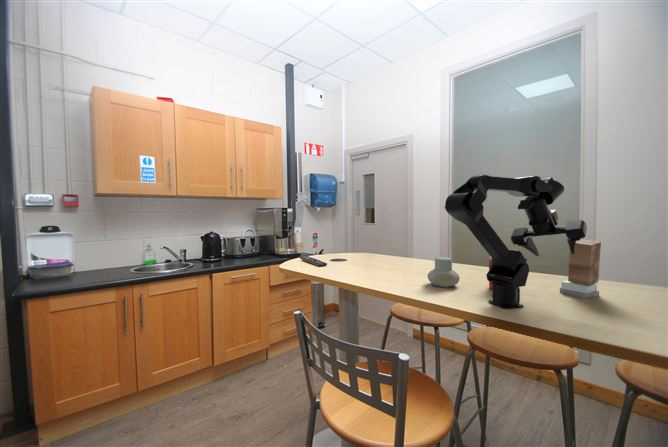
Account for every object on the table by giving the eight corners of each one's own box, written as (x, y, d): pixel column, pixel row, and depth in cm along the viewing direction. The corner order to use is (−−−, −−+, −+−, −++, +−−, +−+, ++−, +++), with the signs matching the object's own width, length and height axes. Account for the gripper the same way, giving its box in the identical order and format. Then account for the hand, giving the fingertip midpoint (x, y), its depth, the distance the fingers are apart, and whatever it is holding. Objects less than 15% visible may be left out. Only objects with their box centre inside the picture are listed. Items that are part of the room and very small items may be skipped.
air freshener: (457, 283, 109) (457, 256, 109) (461, 289, 101) (461, 260, 101) (426, 281, 112) (426, 256, 111) (428, 287, 103) (428, 259, 103)
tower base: (583, 300, 89) (583, 293, 89) (559, 294, 96) (559, 287, 96) (599, 298, 91) (599, 291, 91) (574, 292, 98) (574, 285, 98)
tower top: (585, 293, 89) (586, 286, 89) (561, 288, 95) (561, 281, 95) (596, 290, 92) (597, 283, 91) (572, 285, 98) (572, 279, 97)
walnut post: (588, 286, 89) (591, 245, 86) (568, 281, 93) (570, 242, 91) (598, 282, 91) (601, 241, 89) (577, 277, 96) (579, 239, 94)
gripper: (579, 193, 85) (595, 236, 89) (510, 206, 100) (526, 242, 103) (575, 213, 79) (593, 258, 82) (502, 224, 93) (520, 262, 97)
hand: (555, 254), depth 91 cm, fingers open, 9 cm apart
